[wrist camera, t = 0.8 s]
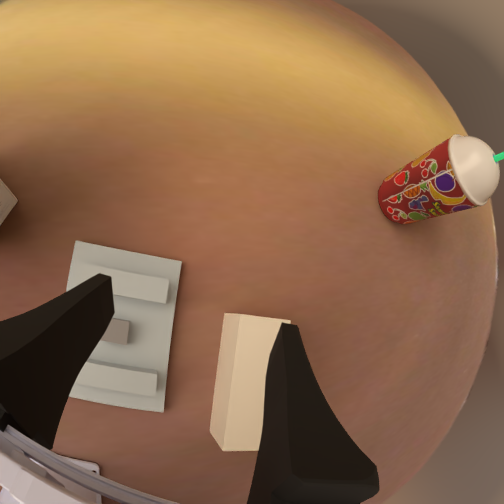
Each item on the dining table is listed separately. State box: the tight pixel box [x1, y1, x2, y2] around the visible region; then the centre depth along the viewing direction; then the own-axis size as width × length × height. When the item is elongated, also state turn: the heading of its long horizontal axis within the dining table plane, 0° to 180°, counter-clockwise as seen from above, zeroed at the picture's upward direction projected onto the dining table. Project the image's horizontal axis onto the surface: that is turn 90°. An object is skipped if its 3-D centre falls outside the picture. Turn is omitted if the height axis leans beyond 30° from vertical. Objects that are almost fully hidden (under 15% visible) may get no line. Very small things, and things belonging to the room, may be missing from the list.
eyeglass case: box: [210, 313, 291, 451], centre depth 26 cm, size 12×4×5 cm, turn 171°
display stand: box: [66, 241, 182, 412], centre depth 24 cm, size 14×10×3 cm
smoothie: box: [378, 134, 504, 224], centre depth 30 cm, size 8×8×20 cm
